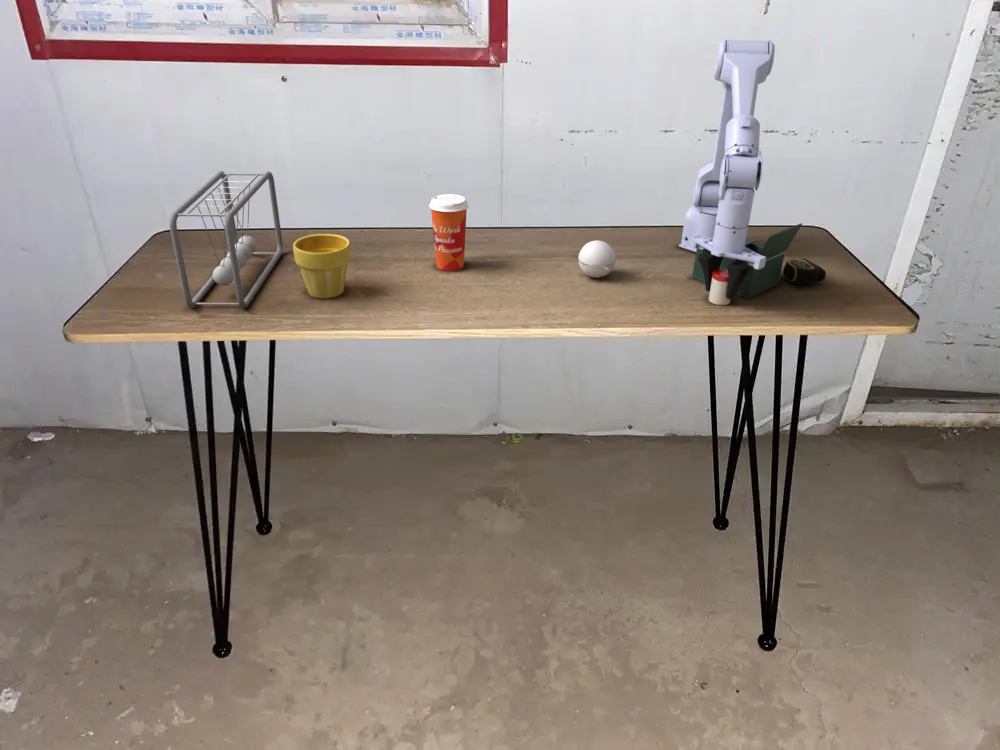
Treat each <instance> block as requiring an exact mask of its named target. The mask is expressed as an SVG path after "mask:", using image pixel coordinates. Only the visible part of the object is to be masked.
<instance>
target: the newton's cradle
mask: <svg viewBox="0 0 1000 750" xmlns="http://www.w3.org/2000/svg"><path fill="white" fill-rule="evenodd" d="M231 176H253V178H251V180H250V181H246V180H244V181H238V180H237V181H235V180H234V181H233V180H232V181H231V180H230V181H229V179H228V178H229V177H231ZM260 176H261V177H260ZM258 177H259V179H258V180H257V181H256V182H255V183H254V184H253V182H254V181H255V180H256V179H257V178H258ZM218 181H219V182H218ZM217 182H218V183H217ZM266 182H268V188H269V196H270V203H271V210H272V218H273V224H274V232H275V238H276V247H277V248H276V252H270V251H269V252H267V251H266V252H264V251H261V252H260V251H259V252H258V251H256V250H257V247H258V243H257V241H256V239H255V238H254V237H252V236H250V235H249V226H247V230H246V234H245V233H244V220H242V222H241V223H242V226H241V223H240V219H239V211H240V210H241V209H242V218H244V213H245V212H244V211H245V205H246V204H247V203H248V204H247V223H249V219H250V199H252V197H253V196H254V195H256V193H257V192H258V191H259V190H260V188H261V187H263V185H264V184H265V183H266ZM216 183H217V184H216ZM229 183H247V184H246V185H245V186H235V187H234V186H230V185H229ZM215 184H216V185H215ZM251 184H253V185H252V186H251ZM275 184H276V183H275V178H274V175H273V172H271V171H265V172H263V173H258V172H257V173H255V172H253V173H252V172H248V173H247V172H225V171H223V170H219V171H218V172H217V173H216V174H214V175H213V176H212V177H211V178H210V179H208V180H207V182H205V183H204V184H203V185H202V186H200V188H199V189H197V190H196V191H195V192H194V193H193V194H191V196H189V197H188V198H187V199H186V200H185V201H183V202H182V204H180V205H179V206H178V207H176V209H174V210H173V211H172V213H171V214H170V215H169V220H168V221H169V222H168V223H169V224H168V226H169V232H170V236H171V240H172V246H173V251H174V255H175V259H176V260H175V261H176V264H177V270H178V274H179V279H180V283H181V288H182V293H183V298H184V301H185V304H186V306H187V307H188V308H191V309H193V308H196V306H238V307H240V308H242V309H246V308H248V307H249V305H250V304H251V302H252V300H253V299H254V298H255V296H256V294H257V292H259V290H260V288H261V287H262V285H263V284H264V282H265V281H266V279H267V278H268V276H269V274H270V273H271V271H272V270H273V268H274V267H275V266H276V264H277V263H278V261H279V259H280V258H281V256H282V254H283V249H284V243H283V235H282V228H281V221H280V214H279V206H278V199H277V192H276V185H275ZM214 185H215V186H214ZM221 185H222V186H221ZM213 186H214V187H213ZM221 188H223V192H221V190H220V189H221ZM230 188H232V189H237V188H239V189H241V190H240V191H239V192H237V193H236V192H231V190H230ZM217 189H218V192H214V191H215V190H217ZM247 189H248V191H246V193H244V192H245V190H247ZM209 190H210V191H209ZM206 192H207V193H206ZM205 193H206V194H205ZM204 194H205V195H204ZM213 194H217V195H218V194H219V196H220V198H221V199H219V198H215V196H214V195H213ZM223 194H224V198H223V196H222V195H223ZM242 194H243V195H242ZM203 195H204V196H203ZM210 195H211V196H212V199H211V198H208V197H209V196H210ZM231 195H235V197H233V199H232V196H231ZM241 195H242V197H240V196H241ZM202 196H203V197H202ZM201 197H202V198H201ZM239 197H240V199H239ZM207 198H208V199H207ZM198 200H199V201H198ZM236 200H237V202H236V203H235V204H234V202H235V201H236ZM196 201H198V202H196ZM203 201H204V202H205V204H206V205H202V208H203V207H204V208H205V207H206V208H207V210H208V213H202V211H201V209H200V204H202V202H203ZM208 201H213V202H214V204H215V205H208ZM216 201H222V203H223V205H217V202H216ZM195 202H196V203H195ZM193 204H194V205H193ZM192 205H193V206H192ZM191 206H192V207H191ZM190 207H191V208H190ZM210 207H211V208H214V207H216V210H217V212H218V213H211V210H210ZM219 207H220V208H222V207H223V209H222V210H221V211H220V210H219ZM189 208H190V209H189ZM196 208H197V209H198V211H199V213H192V212H193V211H194V210H195V209H196ZM188 209H189V210H188ZM187 210H188V211H187ZM185 211H186V213H185ZM235 216H236V220H235ZM179 217H201V219H202V223H203V224H204V227H205V230H206V233H207V236H208V238H209V241H210V243H211V247H212V250H213V252H214V254H215V255H214V256H215V257H216V260H217V263H218V266H216V267H215V268H214V270H213V272H212V275H211V277H209V279H208V280H206V282H205V284H204V285H203V286H202V287H201V289H200V290H199V291H198V292H197V293H196V295H195V296H194V297H193V298H192V294H191V290H190V285H189V280H188V276H187V271H186V265H185V260H184V256H183V252H182V246H181V241H180V235H179V231H178V226H177V224H178V223H177V221H178V218H179ZM204 217H210V218H211V221H212V224H213V226H214V229H215V231H216V234H217V237H218V239H219V241H220V244H221V247H222V250H223V259H222V260H221V261H219V258H218V255H217V253H216V249H215V247H214V244H213V241H212V239H211V236H210V233H209V231H208V228H207V225H206V222H205V220H204ZM213 217H219V218H220V220H221V223H222V226H223V228H224V233H223V242H222V240H221V237H220V234H219V232H218V228H217V226H216V224H215V221H214V218H213ZM223 217H224V221H223V219H222V218H223ZM238 224H239V226H238ZM238 227H240V230H241V237H240V238H239V239H238V229H239V228H238ZM226 242H227V247H228V252H226ZM252 255H273V256H272V258H271V259H270V260H269V262H268V264H267V265H266V267H265V268H264V269H263V271H262V273H261V274H260V275H259V277H258V278H257V280H256V281H255V283H254V285H253V286H252V288H251V289H250V290H249V292H248V294H247V295H246V296H244V291H243V285H242V280H241V279H242V278H241V274H240V272H241V269H242V268H243V267H244V266H245V265H246V263H247V261H248V260H250V258H251V257H252ZM233 282H234V288H235V295H236V298H237V299H236V301H237V302H201V300H202V299H203V298H204V296H205V295H206V294H207V293H208V291H209V290H210V289H211V288H212V286H213V285H214V284H215V283H216V284H217V285H219V286H222V287H224V286H228V285H231V284H232V283H233Z"/></svg>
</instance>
